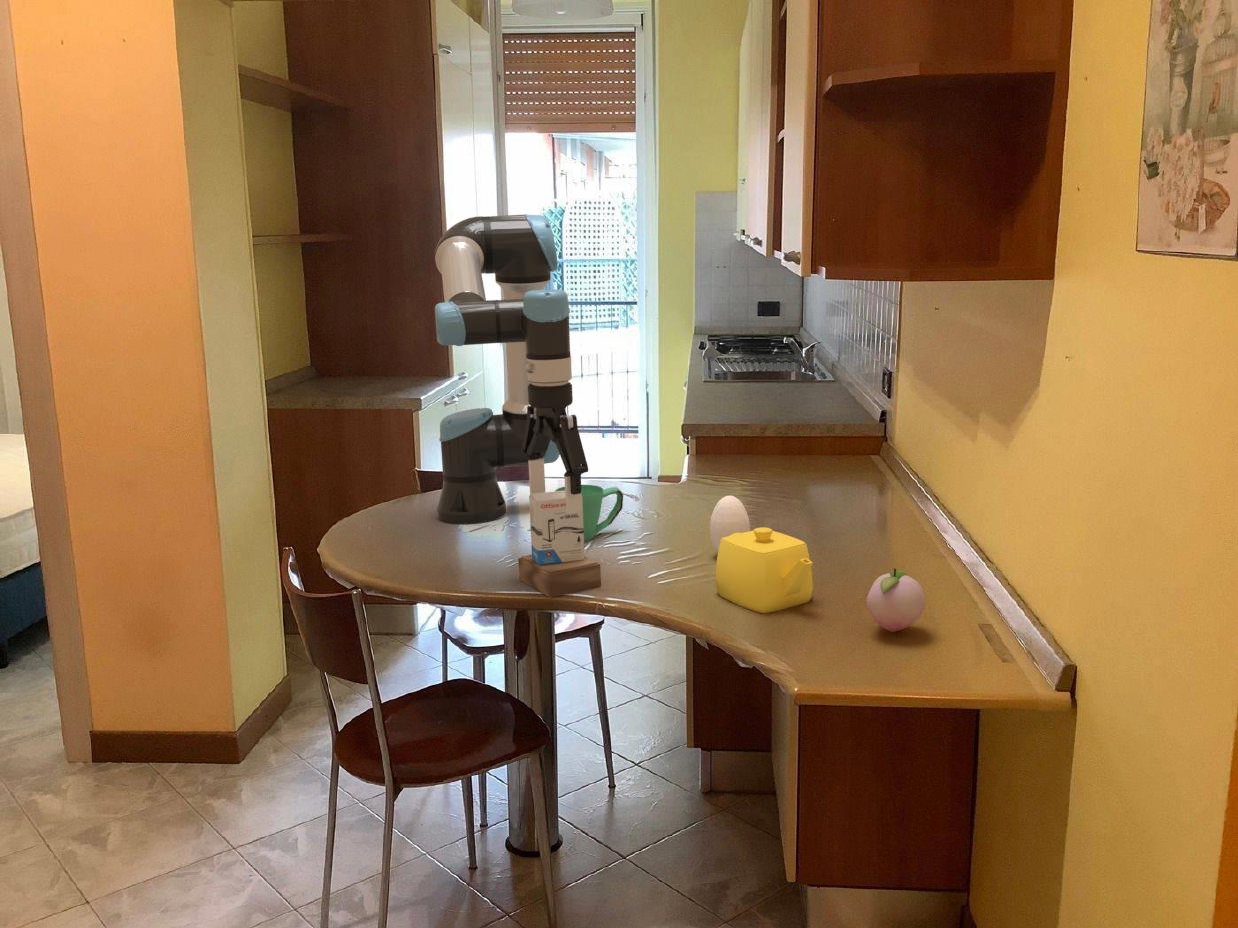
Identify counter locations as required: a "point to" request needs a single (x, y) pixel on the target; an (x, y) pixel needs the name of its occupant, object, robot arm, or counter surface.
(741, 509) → the egg
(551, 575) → the plinth
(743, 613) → the counter surface
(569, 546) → the ink box
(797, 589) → the teapot
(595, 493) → the mug
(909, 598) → the decorative fruit
